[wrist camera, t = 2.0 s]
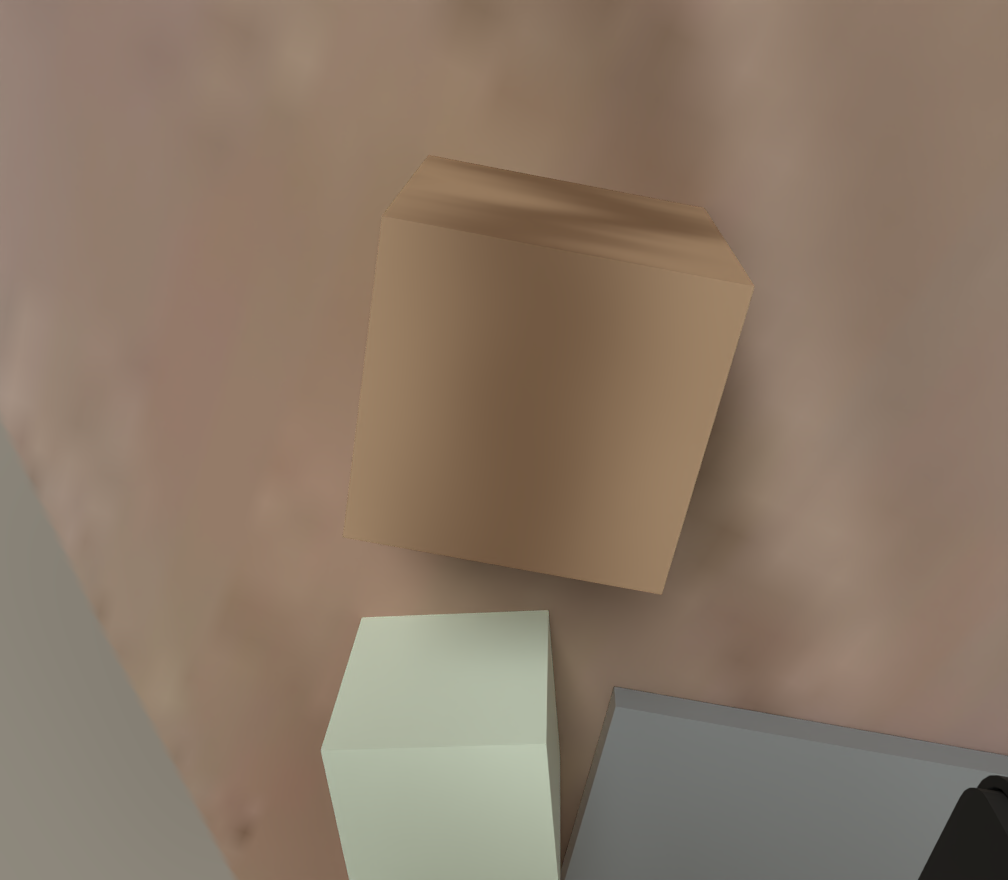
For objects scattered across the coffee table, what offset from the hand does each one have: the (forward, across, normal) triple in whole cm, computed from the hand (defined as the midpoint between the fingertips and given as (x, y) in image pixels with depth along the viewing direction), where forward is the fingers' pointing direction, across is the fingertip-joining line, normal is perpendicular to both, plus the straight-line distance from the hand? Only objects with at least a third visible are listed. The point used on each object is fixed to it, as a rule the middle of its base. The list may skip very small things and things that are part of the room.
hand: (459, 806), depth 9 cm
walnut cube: (+14, -1, -1) cm, 14 cm away
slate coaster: (+14, -11, +15) cm, 24 cm away
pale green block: (+14, -1, +10) cm, 18 cm away
